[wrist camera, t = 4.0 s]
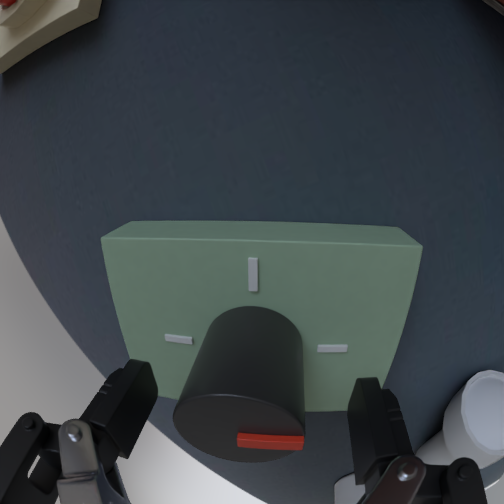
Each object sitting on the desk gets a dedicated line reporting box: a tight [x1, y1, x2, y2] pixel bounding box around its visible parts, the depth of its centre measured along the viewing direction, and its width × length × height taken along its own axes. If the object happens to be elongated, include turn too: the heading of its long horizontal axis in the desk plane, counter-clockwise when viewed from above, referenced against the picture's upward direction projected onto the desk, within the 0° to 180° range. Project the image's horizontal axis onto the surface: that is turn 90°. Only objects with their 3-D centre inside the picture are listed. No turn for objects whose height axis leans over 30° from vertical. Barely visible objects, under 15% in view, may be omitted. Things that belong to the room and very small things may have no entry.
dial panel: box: [101, 221, 423, 412], centre depth 14 cm, size 14×10×3 cm
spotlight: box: [415, 370, 504, 469], centre depth 14 cm, size 8×11×8 cm
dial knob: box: [173, 306, 305, 463], centre depth 10 cm, size 4×4×5 cm
